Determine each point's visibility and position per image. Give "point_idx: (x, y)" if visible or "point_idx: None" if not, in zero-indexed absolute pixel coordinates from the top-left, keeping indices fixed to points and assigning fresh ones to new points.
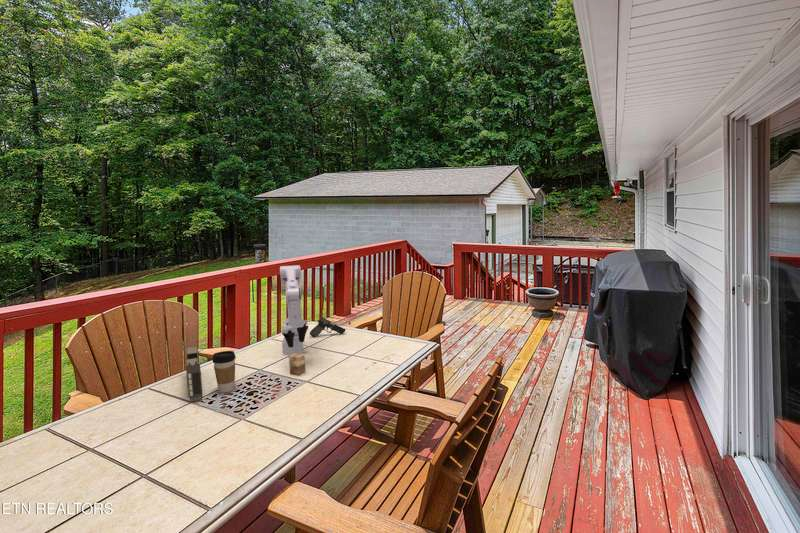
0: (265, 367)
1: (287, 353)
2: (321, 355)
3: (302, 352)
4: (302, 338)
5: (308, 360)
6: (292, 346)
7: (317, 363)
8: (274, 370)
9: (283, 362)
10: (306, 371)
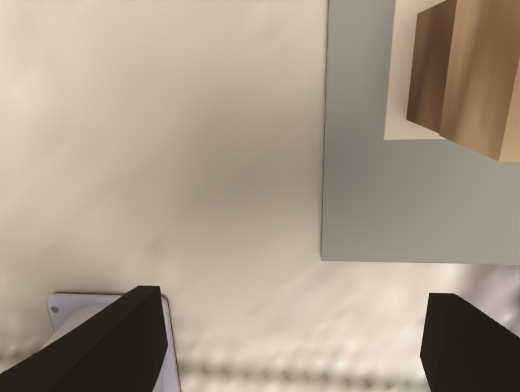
0: (390, 381)
1: (159, 388)
2: (18, 167)
3: (85, 312)
4: (131, 340)
5: (152, 196)
6: (461, 299)
7: (166, 79)
8: (421, 300)
9: (268, 333)
10: (402, 13)
